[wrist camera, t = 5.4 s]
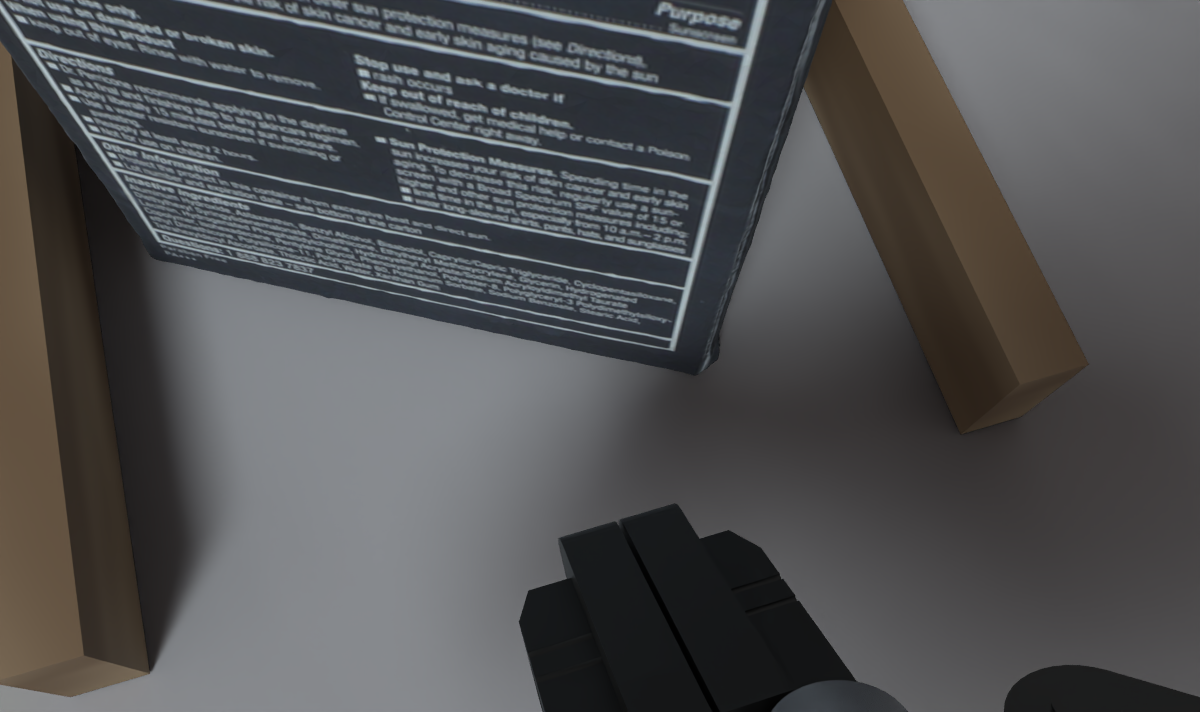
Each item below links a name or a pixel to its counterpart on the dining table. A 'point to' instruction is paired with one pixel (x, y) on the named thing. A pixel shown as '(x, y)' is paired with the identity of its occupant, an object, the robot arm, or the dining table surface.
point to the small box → (443, 149)
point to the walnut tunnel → (81, 390)
